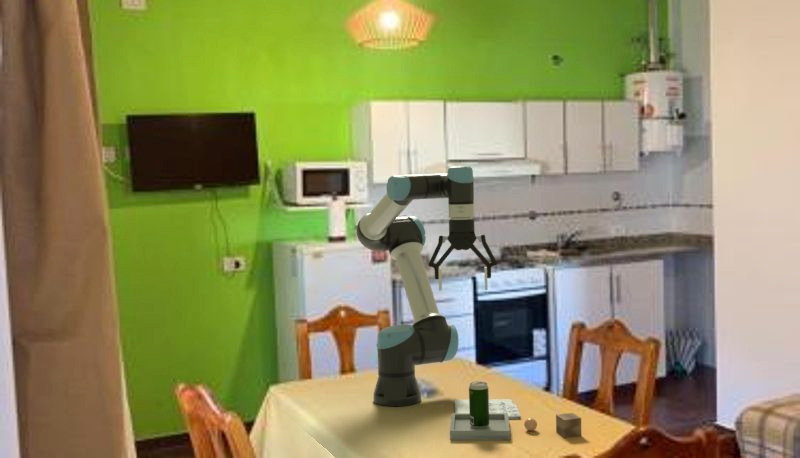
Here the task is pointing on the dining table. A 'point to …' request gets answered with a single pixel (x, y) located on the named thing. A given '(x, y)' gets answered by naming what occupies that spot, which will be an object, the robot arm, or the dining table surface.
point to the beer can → (479, 405)
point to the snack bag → (491, 407)
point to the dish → (464, 431)
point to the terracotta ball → (530, 424)
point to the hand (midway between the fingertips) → (463, 289)
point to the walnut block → (568, 425)
